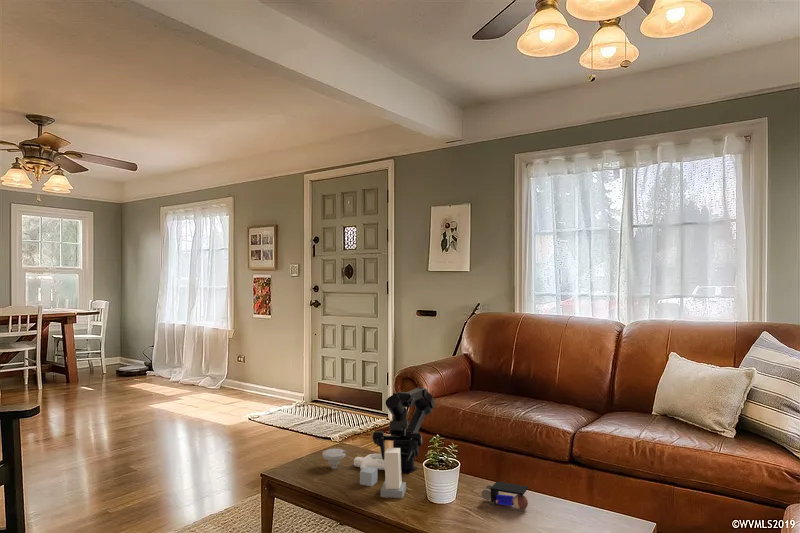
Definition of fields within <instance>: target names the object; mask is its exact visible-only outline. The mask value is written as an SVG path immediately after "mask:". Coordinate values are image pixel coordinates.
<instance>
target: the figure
mask: <svg viewBox="0 0 800 533" xmlns="http://www.w3.org/2000/svg"><path fill="white" fill-rule="evenodd" d="M353 466H354V467H356V468H360V471H361V470H362V469H364V468H365V467H371V468H377V471H378V470H379V471H380V470H382V471H383V470H384V471H385V458H384V460H383V459H382V454H381V452H380V453H370V454H368V455H365V457H363V456H362V457H361V456H360V457H359V456H356V457H355V458H354V459H353Z"/></svg>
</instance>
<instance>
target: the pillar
mask: <svg viewBox="0 0 800 533" xmlns="http://www.w3.org/2000/svg"><path fill="white" fill-rule="evenodd" d="M384 454H385V455H384V459H385V470H384V473H385V474H384V476H385V479H384V482H386V489H400V486H401V484H402V482H403V481H402V471H401V451H400V448H394V447H386V449H385V453H384Z"/></svg>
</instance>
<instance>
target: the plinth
mask: <svg viewBox="0 0 800 533" xmlns="http://www.w3.org/2000/svg"><path fill="white" fill-rule="evenodd" d="M406 490H407V482H405V481H402V484H401V486H400V489H386V482H385V481H384V482H383V484H382V486H381V487H380V497H381V498H389V497H390V498H392V497H393V499H403V498H404V495H405V493H406ZM390 498H389V499H390Z"/></svg>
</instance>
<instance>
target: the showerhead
mask: <svg viewBox="0 0 800 533" xmlns="http://www.w3.org/2000/svg"><path fill="white" fill-rule="evenodd" d="M346 453H347V450H344V449H342V448H328V449H325V450H324V451H323V452H322V458H323V459H324V460H327V464H328V465H330V466H331V467H330V468H331V469H332V470H334V469H337V466H338V465H339V464H340V462H341V460H342V459H343V458H345V457H346Z"/></svg>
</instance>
